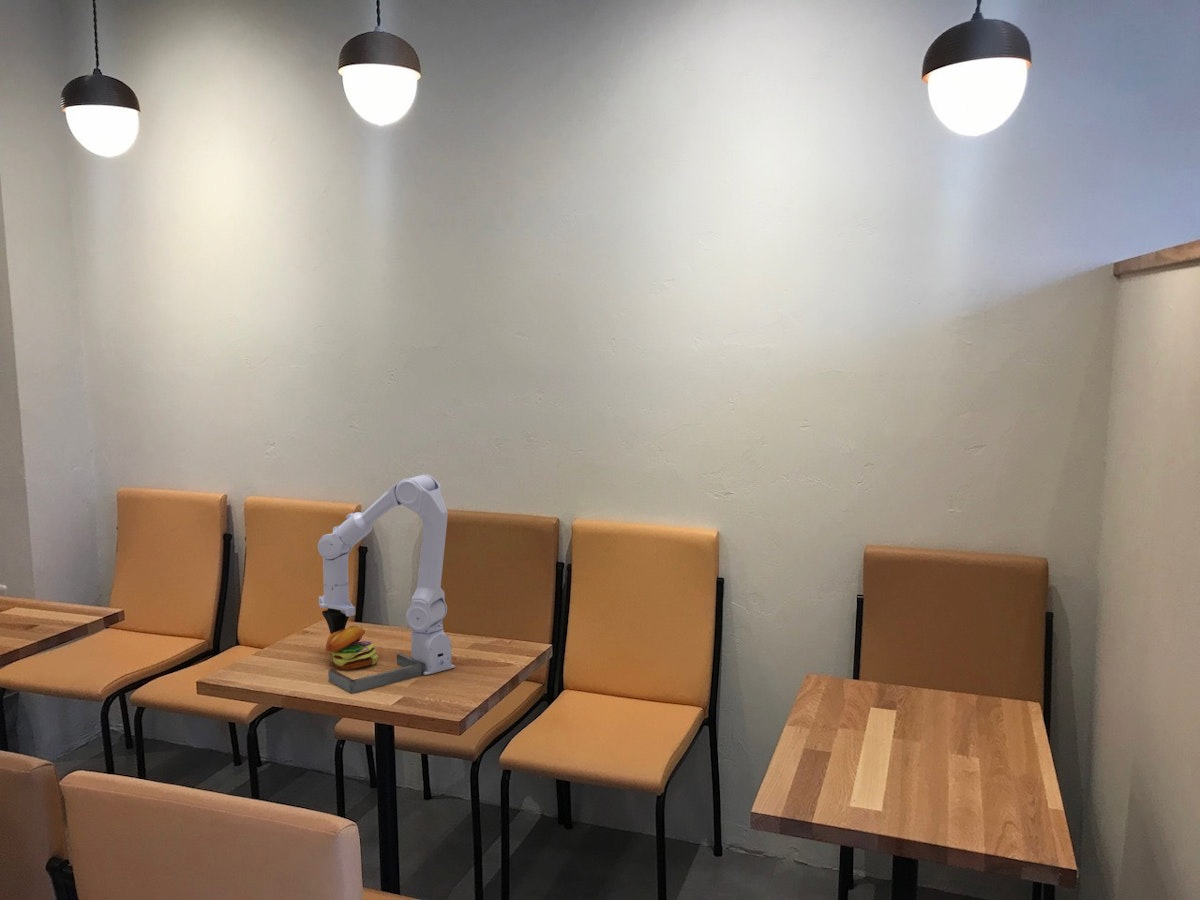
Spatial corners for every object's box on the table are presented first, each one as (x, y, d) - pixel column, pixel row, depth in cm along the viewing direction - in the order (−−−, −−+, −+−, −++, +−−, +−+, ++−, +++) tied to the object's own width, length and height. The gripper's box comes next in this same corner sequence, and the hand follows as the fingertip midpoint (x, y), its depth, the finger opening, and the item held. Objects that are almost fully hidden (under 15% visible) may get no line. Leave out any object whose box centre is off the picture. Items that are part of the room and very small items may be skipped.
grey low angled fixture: (425, 674, 210) (424, 663, 209) (351, 693, 198) (351, 682, 197) (400, 663, 217) (400, 652, 217) (328, 681, 205) (328, 669, 205)
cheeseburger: (372, 671, 211) (360, 629, 210) (327, 681, 212) (315, 640, 211) (384, 656, 221) (372, 616, 220) (340, 666, 222) (329, 626, 221)
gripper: (306, 580, 222) (307, 636, 223) (334, 591, 211) (336, 650, 213) (333, 575, 227) (335, 630, 228) (363, 586, 216) (364, 644, 217)
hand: (337, 639), depth 221 cm, fingers closed
